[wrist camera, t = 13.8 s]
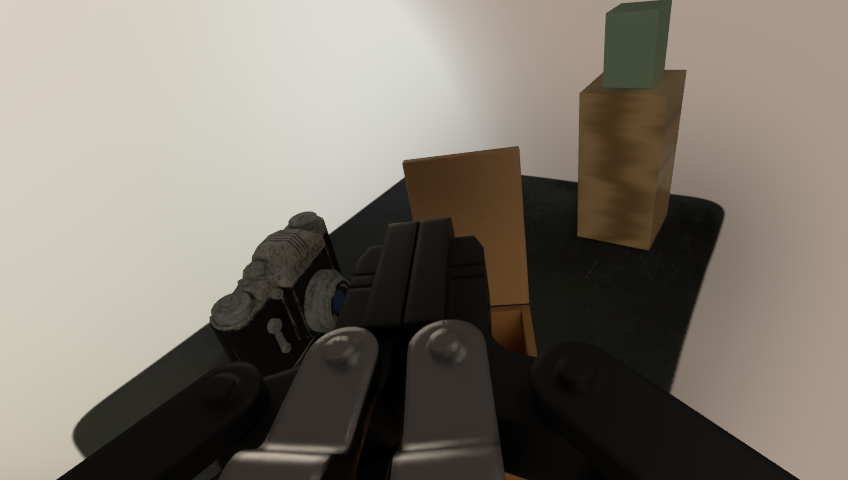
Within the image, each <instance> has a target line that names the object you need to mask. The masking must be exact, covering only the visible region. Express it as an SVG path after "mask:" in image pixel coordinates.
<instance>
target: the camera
mask: <svg viewBox="0 0 848 480" xmlns="http://www.w3.org/2000/svg"><path fill="white" fill-rule="evenodd" d="M349 284H350V283H349V281H348V280H346V279H345V278H344V277H343V276H342V274H341V271H340V268H339V265H338V262H337V259H336V256H335V252H334V249H333V246H332V243H331V240H330V237H329V234H328V231H327V228H326V225H325V222H324V220H323V218H321V217H319V216H317V215H316V213H314V212H303V213H299V214H297V215H295V216H293V217H292V218H291V219H290V220H289V225H288V226H287V227H286V228H285V229H284V230H280V231H277V232H275V233H273V234H271V235H269V236H268V237H267V238H266V239H265V240H264V241H263V242H262V243H261V244H260V245H259V246H258V247H257V249H256V250H255V252H254V254H253V256H252V262H251V263H250V264H249V265H247V267H246V268H245V269H244V270H243V279H240V280H239V281H238V286H237V288H236V289H235V291H234V292H233V293H232V294H229V295H226V296H224V297H223V298H221V299H220V300H218V301H217V302H216V303H215V304H214V306H213V308H212V310H211V314H212V316H211V317H210V323H211V324H210V325H211V327H212V329H213V331H214V332H215V334H216V336H217V338H218V340H219V341H220V343H221V345H222V347H223V348H224V350H225V352H226V354H227V356H228V357H229V359H230V361H231V363H232V362H247V363H250V364H252V365H254V366H255V367H256V368H257V369H258V370H259V372H260V374H261V376H262V378H264V377H267V376H270V375H273V374H276V373H279V372H282V371H285V370H288V369H291V368H294V367H295V366H296V364H297V363H298V361H299V360H300V358H301V357H302V356H303V354H304V353H305V351H306V350H307V348H308V347H309V345H310V344H311V342H312V340H313V339H314V337H315V336H317V335H319V334H321V333H329V332H331V331H333V330H334V328H335V325H336V322H337V319H338V316H339V313H340V311H341V308H342V305H343V302H344V299H345V296H346V293H347V290H348V289H349Z"/></svg>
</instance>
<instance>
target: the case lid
mask: <svg viewBox="0 0 848 480" xmlns="http://www.w3.org/2000/svg"><path fill="white" fill-rule="evenodd" d="M403 169H404V174H405V180H406V185H407V191H408V196H409V201H410V207H411V212H412V217H413V221H421V220H430V219H439V218H448V217H451V219H452V223H453V228H454V234H455V237H464V236H473V235H474V236H475V237H476V238H477V240H478V241H479V242H480V243H481V245H482V246H483V247H484V255H485V262H486V270H487V278H488V286H489V293H490V306H493V305H507V304H521V303H529V291H528V276H527V260H526V245H525V229H524V214H523V198H522V183H521V167H520V152H519V147H518V146H516V147H508V148H500V149H491V150H484V151H475V152H467V153H459V154H451V155H443V156H435V157H427V158H419V159H411V160H404V161H403Z"/></svg>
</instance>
